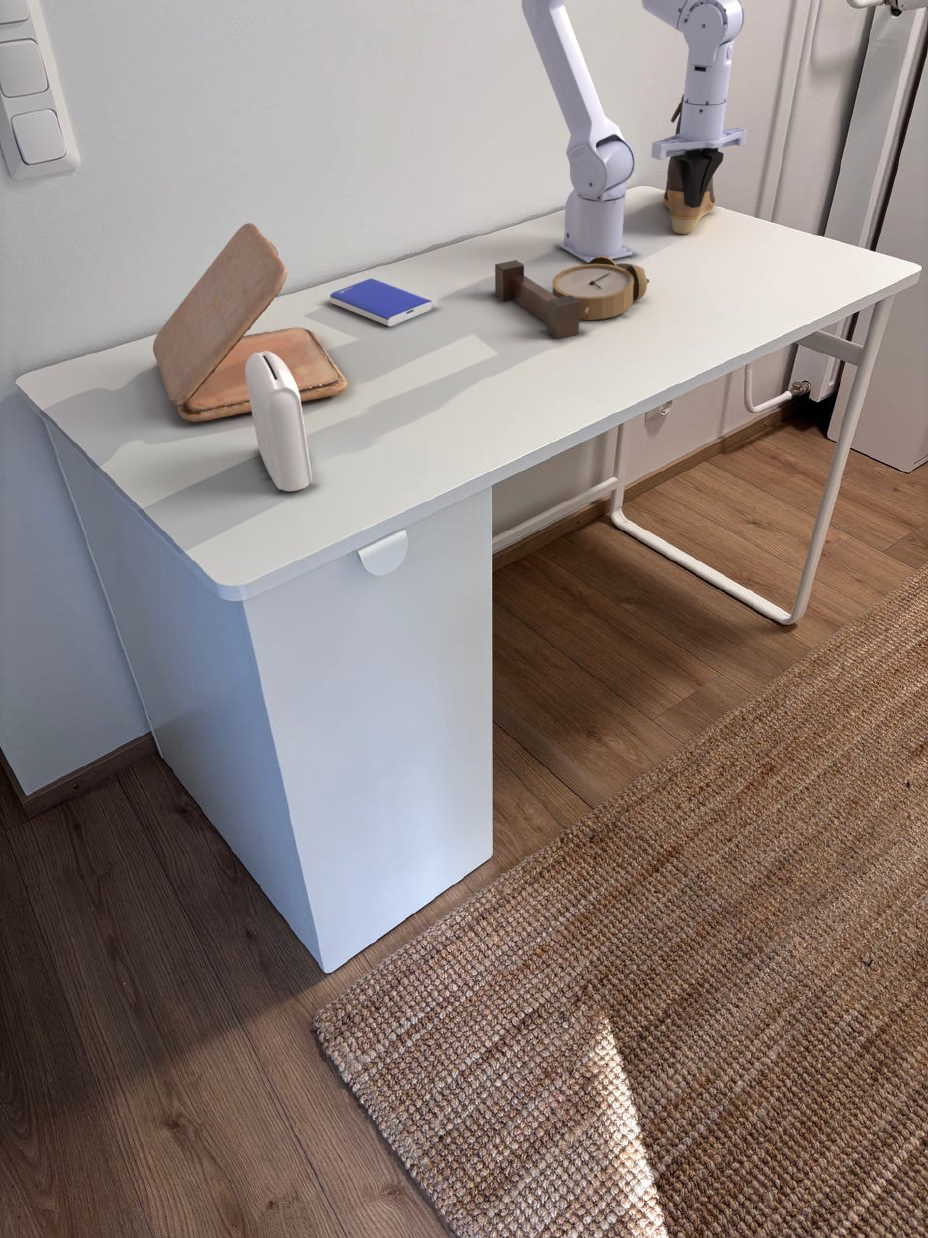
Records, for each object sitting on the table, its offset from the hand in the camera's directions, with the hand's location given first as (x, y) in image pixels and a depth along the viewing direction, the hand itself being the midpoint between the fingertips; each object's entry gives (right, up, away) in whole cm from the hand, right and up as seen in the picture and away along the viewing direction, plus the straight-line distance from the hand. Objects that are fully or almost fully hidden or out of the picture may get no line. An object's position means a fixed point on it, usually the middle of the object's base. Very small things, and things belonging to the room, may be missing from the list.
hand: (692, 205), depth 140 cm
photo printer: (-52, -43, -35) cm, 76 cm away
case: (-59, -29, -18) cm, 69 cm away
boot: (+5, +9, +26) cm, 28 cm away
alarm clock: (-14, -15, -2) cm, 20 cm away
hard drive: (-45, -15, -2) cm, 47 cm away
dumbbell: (-22, -17, -5) cm, 28 cm away
